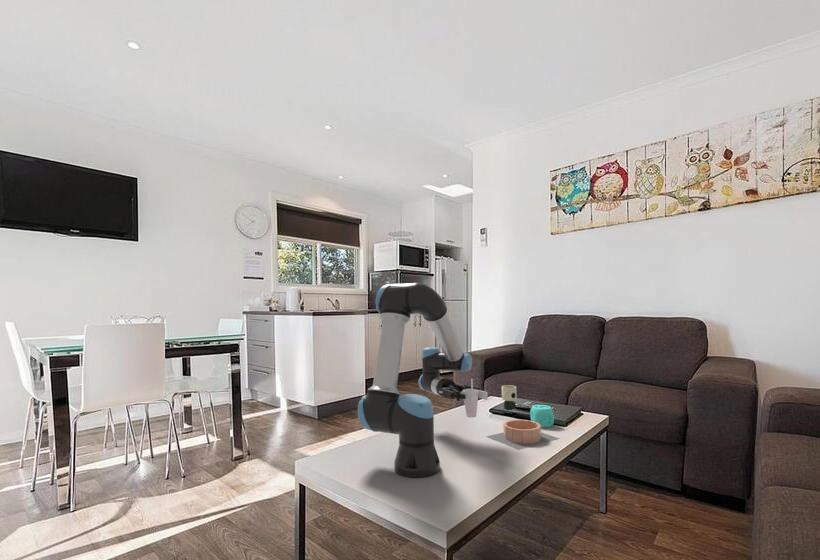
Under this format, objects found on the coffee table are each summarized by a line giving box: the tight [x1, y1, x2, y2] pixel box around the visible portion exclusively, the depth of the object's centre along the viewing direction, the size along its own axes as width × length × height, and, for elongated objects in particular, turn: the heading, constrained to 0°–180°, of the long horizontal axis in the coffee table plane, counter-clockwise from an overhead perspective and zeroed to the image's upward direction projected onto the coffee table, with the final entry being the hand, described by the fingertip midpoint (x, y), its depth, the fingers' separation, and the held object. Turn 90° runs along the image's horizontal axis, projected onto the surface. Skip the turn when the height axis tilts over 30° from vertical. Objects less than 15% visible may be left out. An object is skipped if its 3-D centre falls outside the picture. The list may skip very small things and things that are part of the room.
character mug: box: [501, 384, 518, 410], centre depth 202 cm, size 11×7×13 cm, turn 143°
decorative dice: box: [529, 404, 555, 428], centre depth 181 cm, size 8×8×8 cm
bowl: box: [502, 419, 542, 444], centre depth 164 cm, size 14×14×5 cm
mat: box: [485, 431, 560, 451], centre depth 164 cm, size 22×18×1 cm
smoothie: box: [462, 378, 479, 418], centre depth 158 cm, size 6×6×14 cm
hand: (479, 397), depth 153 cm, fingers closed on smoothie, 6 cm apart
